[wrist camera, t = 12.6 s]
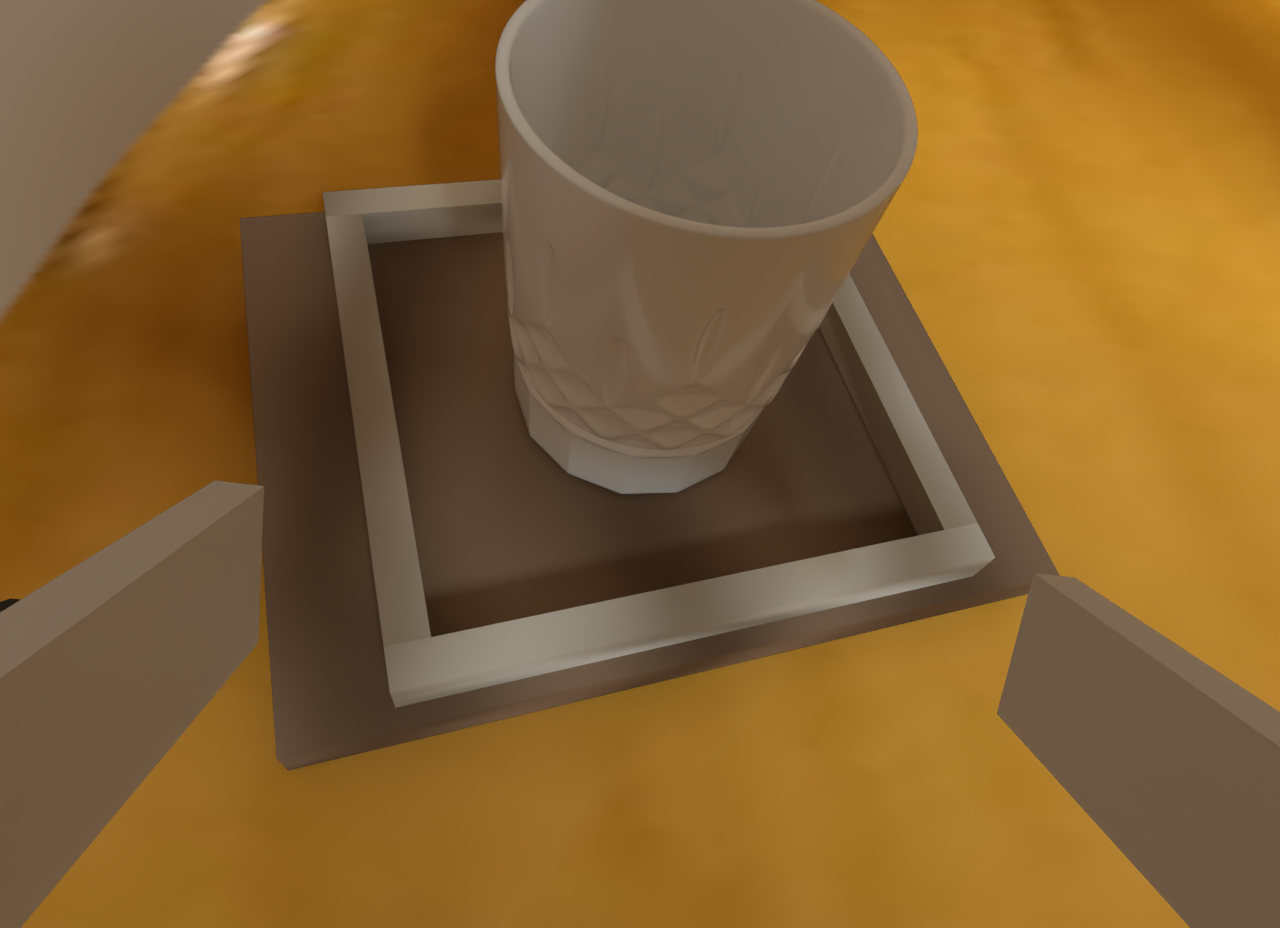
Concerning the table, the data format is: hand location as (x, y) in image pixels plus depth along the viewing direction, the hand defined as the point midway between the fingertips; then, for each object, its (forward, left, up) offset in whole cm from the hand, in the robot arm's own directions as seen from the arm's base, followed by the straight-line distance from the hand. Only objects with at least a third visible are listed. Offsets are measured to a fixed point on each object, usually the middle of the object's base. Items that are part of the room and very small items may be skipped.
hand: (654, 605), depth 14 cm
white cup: (-3, -8, -6) cm, 11 cm away
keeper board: (-3, -8, -7) cm, 12 cm away
